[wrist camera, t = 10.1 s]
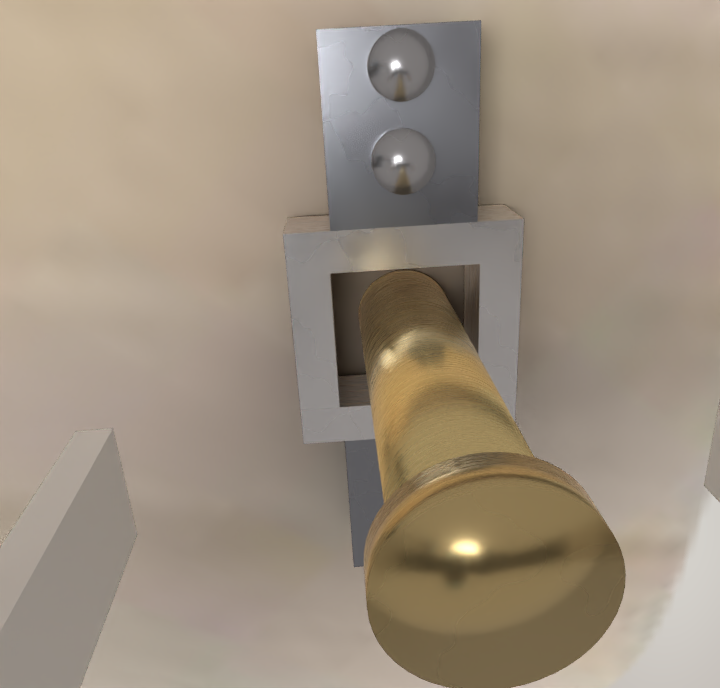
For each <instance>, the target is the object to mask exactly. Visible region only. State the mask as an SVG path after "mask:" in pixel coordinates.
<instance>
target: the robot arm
mask: <svg viewBox="0 0 720 688" xmlns="http://www.w3.org/2000/svg"><path fill="white" fill-rule="evenodd" d="M704 486H705V487H706V488H707V489H708V490H709V491H710V493H711V494H712V495H713V496H714V497H715V498H716V499H717V500H718V501H719V502H720V401H719V406H718V411H717V417H716V422H715V428H714V433H713V439H712V444H711V450H710V455H709V460H708V466H707V471H706V477H705V482H704ZM136 537H137V531H136V526H135V522H134V518H133V513H132V509H131V504H130V500H129V496H128V491H127V487H126V483H125V478H124V474H123V469H122V465H121V461H120V456H119V452H118V448H117V443H116V439H115V435H114V430H113V428H109V429H97V430H84V431H76V432H75V433H74V435H73V436H72V438H71V439H70V441H69V442H68V444H67V445H66V447H65V448H64V450H63V452H62V453H61V455H60V456H59V458H58V459H57V461H56V462H55V464H54V465H53V467H52V468H51V470H50V471H49V473H48V474H47V476H46V478H45V479H44V481H43V482H42V484H41V485H40V487H39V488H38V490H37V491H36V493H35V494H34V496H33V497H32V499H31V500H30V502H29V504H28V505H27V507H26V508H25V510H24V511H23V513H22V514H21V516H20V517H19V519H18V520H17V522H16V523H15V525H14V526H13V528H12V530H11V531H10V533H9V534H8V536H7V537H6V539H5V540H4V542H3V543H2V545H1V546H0V688H80V686H81V684H82V681H83V678H84V676H85V673H86V670H87V668H88V665H89V662H90V660H91V657H92V654H93V652H94V649H95V646H96V644H97V641H98V638H99V636H100V633H101V630H102V628H103V625H104V622H105V620H106V617H107V614H108V612H109V609H110V606H111V604H112V601H113V598H114V596H115V593H116V590H117V588H118V585H119V582H120V580H121V577H122V574H123V572H124V569H125V566H126V564H127V561H128V558H129V556H130V553H131V550H132V548H133V545H134V542H135V540H136Z"/></svg>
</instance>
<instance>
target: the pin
mask: <svg viewBox="0 0 720 688" xmlns="http://www.w3.org/2000/svg"><path fill="white" fill-rule="evenodd" d="M359 324H360V331H361V339H362V346H363V353H364V361H365V368H366V375H367V383H368V390H369V397H370V404H371V412H372V419H373V426H374V434H375V441H376V448H377V455H378V463H379V470H380V477H381V485H382V492H383V499H384V504H383V506H382V507H381V509H380V510H379V511H378V513H377V515H376V516H375V518H374V520H373V522H372V524H371V526H370V529H369V532H368V535H367V538H366V542H365V548H364V574H365V587H366V600H367V610H368V616H369V621H370V624H371V627H372V630H373V633H374V635H375V637H376V639H377V640H378V642H379V644H380V645H381V647H382V648H383V649H384V651H385V652H386V653H387V654H388V655H389V656H390V657H391V658H392V659H393V660H394V661H395V662H396V663H397V664H398V665H400V666H401V667H402V668H404V669H405V670H407V671H408V672H410V673H412V674H414V675H415V676H417V677H419V678H421V679H424V680H426V681H429V682H431V683H434V684H438V685H441V686H445V687H449V688H511V687H516V686H520V685H525V684H528V683H531V682H534V681H537V680H540V679H542V678H545V677H547V676H549V675H552V674H554V673H556V672H558V671H559V670H561V669H563V668H565V667H567V666H568V665H570V664H571V663H573V662H574V661H576V660H577V659H578V658H580V657H581V656H582V655H584V654H585V653H586V652H587V651H588V650H589V649H591V648H592V647H593V646H594V645H595V643H596V642H597V641H598V640H599V639H600V638H601V637H602V636H603V634H604V633H605V632H606V630H607V629H608V628H609V626H610V625H611V623H612V621H613V619H614V618H615V616H616V614H617V612H618V609H619V607H620V604H621V601H622V598H623V593H624V588H625V574H626V573H625V565H624V559H623V556H622V552H621V549H620V547H619V545H618V543H617V541H616V539H615V537H614V535H613V533H612V532H611V530H610V529H609V527H608V525H607V524H606V522H605V521H604V519H603V517H602V516H601V514H600V513H599V511H598V509H597V508H596V506H595V505H594V503H593V501H592V500H591V498H590V497H589V495H588V494H587V493H586V491H585V490H584V489H583V487H582V486H581V485H580V484H579V483H578V482H577V481H576V480H575V479H574V478H573V477H571V476H570V475H569V474H567V473H566V472H564V471H563V470H562V469H560V468H558V467H556V466H554V465H552V464H550V463H548V462H546V461H543V460H540V459H538V458H535V457H534V456H533V454H532V452H531V450H530V449H529V447H528V445H527V443H526V441H525V439H524V438H523V436H522V434H521V432H520V430H519V428H518V427H517V425H516V423H515V421H514V419H513V418H512V416H511V414H510V412H509V410H508V408H507V407H506V405H505V403H504V401H503V399H502V397H501V396H500V394H499V392H498V390H497V388H496V386H495V385H494V383H493V381H492V379H491V377H490V375H489V374H488V372H487V370H486V368H485V366H484V364H483V363H482V361H481V359H480V357H479V355H478V353H477V352H476V350H475V348H474V346H473V344H472V343H471V341H470V339H469V337H468V335H467V333H466V332H465V330H464V328H463V326H462V324H461V322H460V321H459V319H458V317H457V315H456V313H455V311H454V310H453V308H452V306H451V304H450V302H449V300H448V299H447V297H446V295H445V293H444V291H443V290H442V288H441V287H440V285H439V284H438V283H437V282H436V281H435V280H433V279H432V278H431V277H429V276H427V275H425V274H423V273H420V272H417V271H411V270H400V271H394V272H391V273H388V274H386V275H384V276H382V277H380V278H378V279H377V280H376V281H374V282H373V283H372V284H371V285H370V286H369V288H368V289H367V290H366V292H365V293H364V295H363V297H362V299H361V302H360V306H359Z"/></svg>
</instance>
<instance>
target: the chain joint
mask: <svg viewBox="0 0 720 688" xmlns="http://www.w3.org/2000/svg"><path fill="white" fill-rule="evenodd" d="M316 36H317V50H318V64H319V78H320V93H321V107H322V121H323V135H324V149H325V164H326V178H327V192H328V206H329V215H322V216H306V217H290V218H287V221H286V225H285V228H284V232H283V239H284V249H285V259H286V269H287V280H288V290H289V300H290V310H291V320H292V330H293V340H294V350H295V360H296V371H297V381H298V391H299V401H300V411H301V421H302V431H303V441H304V444H311V443H325V442H340V441H345V447H346V462H347V476H348V490H349V504H350V518H351V533H352V547H353V561H354V567H360V566H364V548H365V542H366V538H367V535H368V532H369V529H370V526H371V524H372V522H373V520H374V518H375V516H376V515H377V513H378V511H379V510H380V509H381V507H382V506H383V504H384V499H383V492H382V485H381V477H380V470H379V463H378V455H377V448H376V441H375V434H374V426H373V419H372V412H371V404H370V397H369V390H368V383H367V375H351V376H338V365H337V351H336V337H335V323H334V310H333V296H332V282H331V274H332V273H347V272H363V271H379V270H394V269H410V268H425V267H441V266H456V265H464V330H465V332H466V333H467V335H468V337H469V339H470V341H471V343H472V344H473V346H474V348H475V350H476V352H477V353H478V355H479V357H480V359H481V361H482V363H483V364H484V366H485V368H486V370H487V372H488V374H489V375H490V377H491V379H492V381H493V383H494V385H495V386H496V388H497V390H498V392H499V394H500V396H501V397H502V399H503V401H504V403H505V405H506V407H507V408H508V410H509V412H510V414H511V416H512V418H513V419H514V421H515V411H516V389H517V367H518V345H519V323H520V300H521V278H522V256H523V234H524V219H523V218H522V217H521V216H519V215H518V214H517V213H515V212H514V211H512V210H511V209H510V208H508V207H507V206H506V205H504V204H499V205H483V206H478V173H479V116H480V59H481V20H479V21H461V22H442V23H424V24H406V25H387V26H369V27H351V28H333V29H316Z"/></svg>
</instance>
